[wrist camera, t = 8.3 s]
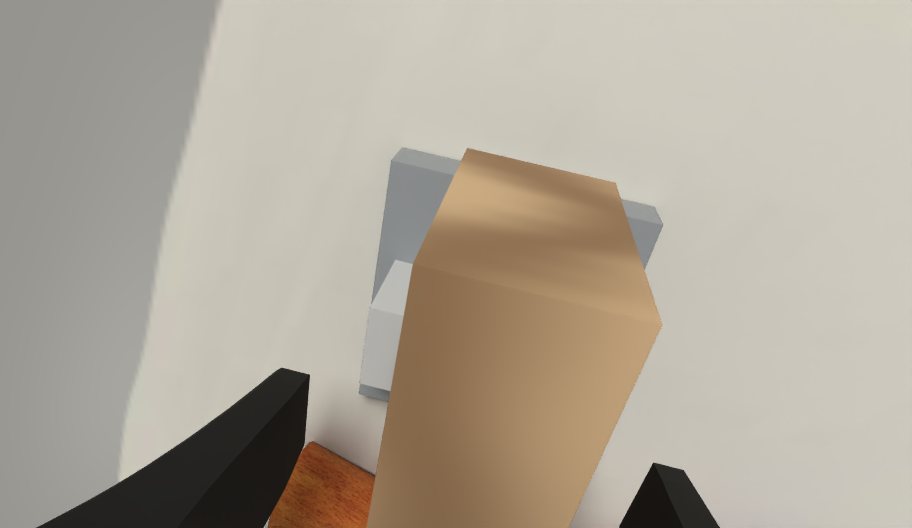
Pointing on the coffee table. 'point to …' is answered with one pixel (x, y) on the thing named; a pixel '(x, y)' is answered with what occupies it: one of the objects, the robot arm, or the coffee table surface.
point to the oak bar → (512, 350)
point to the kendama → (324, 493)
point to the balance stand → (403, 231)
